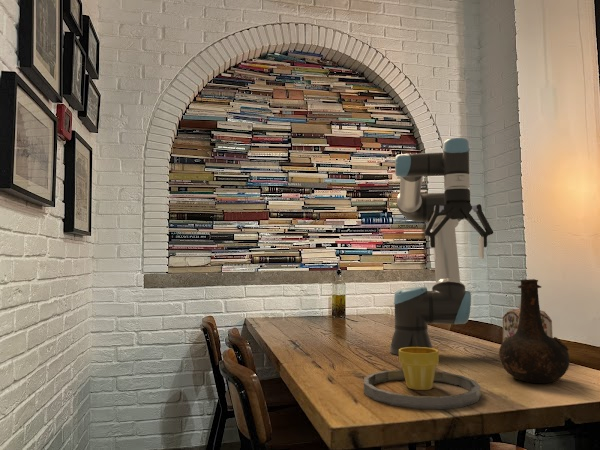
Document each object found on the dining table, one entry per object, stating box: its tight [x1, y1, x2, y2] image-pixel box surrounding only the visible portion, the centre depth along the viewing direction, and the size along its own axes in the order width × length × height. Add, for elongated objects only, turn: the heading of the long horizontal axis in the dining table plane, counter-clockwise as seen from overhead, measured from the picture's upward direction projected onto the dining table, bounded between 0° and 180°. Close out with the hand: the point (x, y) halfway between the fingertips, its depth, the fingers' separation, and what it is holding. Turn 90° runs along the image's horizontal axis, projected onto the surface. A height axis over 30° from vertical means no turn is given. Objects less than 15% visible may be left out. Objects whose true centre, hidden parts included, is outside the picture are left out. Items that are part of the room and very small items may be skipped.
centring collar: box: [363, 369, 482, 410], centre depth 126 cm, size 28×28×2 cm
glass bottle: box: [498, 278, 570, 384], centre depth 139 cm, size 18×18×28 cm
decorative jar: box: [502, 303, 554, 343], centre depth 171 cm, size 12×12×18 cm
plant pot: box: [398, 347, 440, 391], centre depth 131 cm, size 10×10×10 cm
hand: (458, 258), depth 151 cm, fingers open, 13 cm apart
